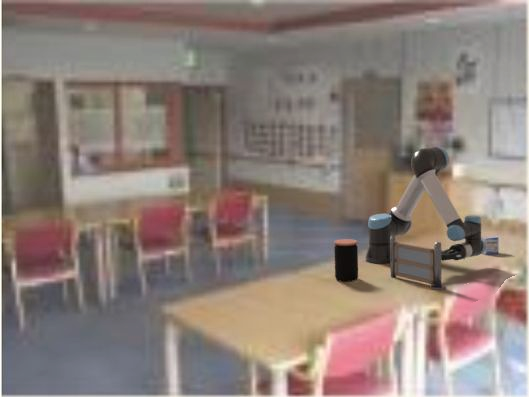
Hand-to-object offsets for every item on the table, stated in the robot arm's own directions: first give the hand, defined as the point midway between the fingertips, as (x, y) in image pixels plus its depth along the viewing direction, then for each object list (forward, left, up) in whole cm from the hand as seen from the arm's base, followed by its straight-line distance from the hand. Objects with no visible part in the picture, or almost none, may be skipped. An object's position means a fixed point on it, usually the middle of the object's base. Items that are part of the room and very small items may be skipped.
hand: (426, 259), depth 318 cm
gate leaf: (-5, -5, -8) cm, 11 cm away
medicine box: (+31, +57, -10) cm, 66 cm away
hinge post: (+5, -14, -9) cm, 17 cm away
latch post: (-15, +4, -9) cm, 18 cm away
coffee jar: (-36, -3, -10) cm, 38 cm away
